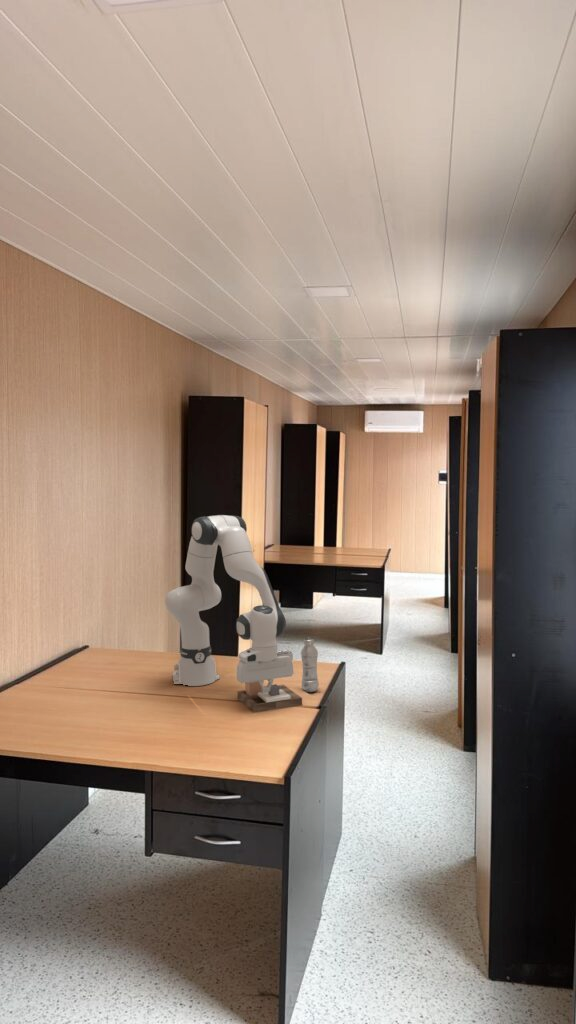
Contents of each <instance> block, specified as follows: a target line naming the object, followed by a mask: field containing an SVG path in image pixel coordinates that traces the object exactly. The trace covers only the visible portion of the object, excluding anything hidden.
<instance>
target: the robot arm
mask: <svg viewBox="0 0 576 1024" xmlns="http://www.w3.org/2000/svg"><path fill="white" fill-rule="evenodd" d="M247 529H248V528H247V523H246V521H245V519H243V517H241V516H238V515H233V514H232V515H227V514H226V515H225V514H217V515H209V516H205V515H204V516H200V517H197V518H195V519H194V520H193V522H192V525H191V528H190V531H191V537H190V541H189V545H188V550H187V554H186V555H187V556H186V561H185V566H184V567H185V568H184V569H185V571H186V572H187V574H188V575H189V576H190V577H191V583H190V584H187V585H183V586H177V588H174V589H171V590H170V591H168V592H167V593H166V595H165V600H164V603H165V607H166V609H167V611H168V612H169V613H170V614H171V615H172V616H174V617H175V619H176V620H177V623H178V626H179V629H180V636H181V638H180V640H181V647H180V657H179V659H178V661H177V664H176V663H175V664H173V670H174V672H172V681H174V683H175V684H183V685H182V686H185V685H188V686H187V687H198V686H199V687H200V686H205V685H209V684H212V683H215V681H217V680H220V678H221V676H220V675H219V674H217V671H216V670H217V669H216V659H215V658H214V657H213V656H212V655H211V654H212V647H211V644H210V643H211V642H210V628H209V626H208V624H207V623H206V622H205V621H203V620H202V619H201V617H200V612H201V611H206V610H210V609H212V608H213V607H215V606H217V605H218V604H219V603H220V602H221V601H222V591H221V588H220V586H219V585H218V584H217V583H216V582H215V578H214V570H215V564H216V556H217V552H218V546H219V547H220V550H221V554H222V561H223V565H224V569H225V572H226V573H227V574H228V575H229V577H231V578H232V579H234V580H236V581H238V582H243V583H247V584H249V585H251V586H253V587H255V589H256V590H257V592H258V594H259V597H260V600H261V602H262V605H261V604H260V605H256V606H253V608H252V609H251V610H250V611H247V612H244V613H242V614H240V615H239V616H238V617H237V619H236V621H235V630H236V634H237V636H239V638H241V639H242V640H245V641H251V646H250V647H249V648H247V649H245V650H243V651H241V652H240V653H238V658H239V659H240V660H238V662H237V663H236V664H237V665H236V680H237V681H238V682H239V683H241V684H245V683H248V682H255V681H258V683H259V685H260V686H261V691H262V693H264V692H270V691H271V688H270V687H271V685H274V679H282V678H289V677H292V676H293V675H294V665H293V660H294V659H293V658H294V656H293V655H294V654H293V652H292V651H291V650H288V649H285V650H278V642H277V639H276V638H277V637H280V636H281V635H282V634H283V633H284V631H285V629H286V627H287V621H286V617H285V615H284V613H283V611H282V609H281V608H280V605H279V603H278V601H277V597H276V594H275V592H274V590H273V589H274V588H273V587H272V584H271V581H270V579H269V576H268V574H267V572H266V570H265V569H264V567H261V566H260V565H259V564H258V562H257V561H256V559H255V557H254V553H253V550H252V544H251V541H250V540H249V536H248V534H247ZM265 681H268V683H267V685H265V686H264V682H265ZM174 683H173V684H174ZM262 683H263V684H262Z"/></svg>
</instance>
